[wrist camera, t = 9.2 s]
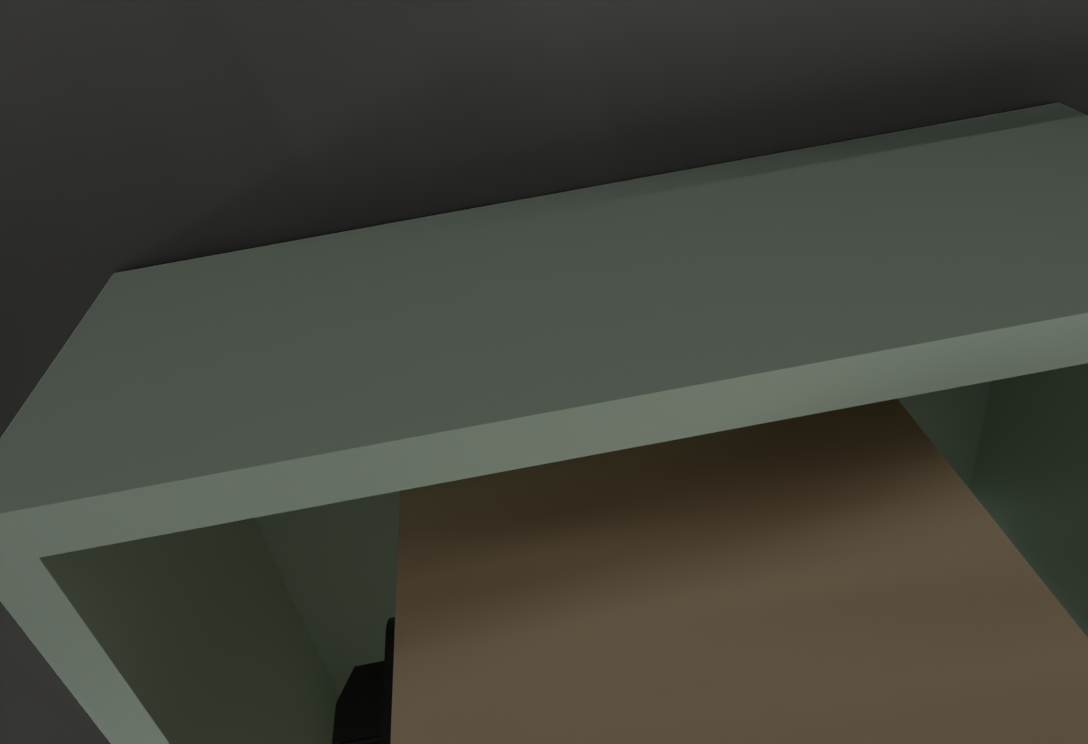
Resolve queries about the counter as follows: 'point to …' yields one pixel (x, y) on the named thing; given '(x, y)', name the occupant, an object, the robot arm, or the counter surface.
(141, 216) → the counter surface
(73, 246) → the counter surface
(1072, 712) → the oak block
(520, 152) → the counter surface
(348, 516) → the tote
